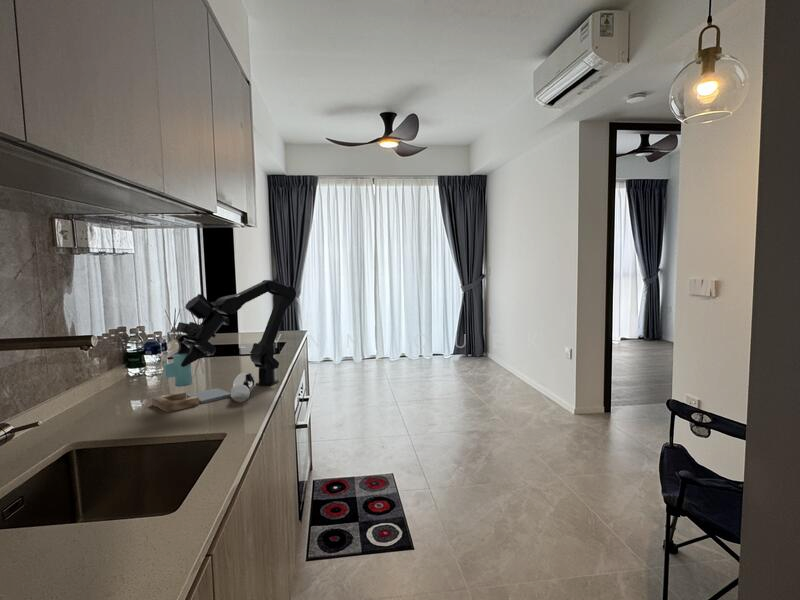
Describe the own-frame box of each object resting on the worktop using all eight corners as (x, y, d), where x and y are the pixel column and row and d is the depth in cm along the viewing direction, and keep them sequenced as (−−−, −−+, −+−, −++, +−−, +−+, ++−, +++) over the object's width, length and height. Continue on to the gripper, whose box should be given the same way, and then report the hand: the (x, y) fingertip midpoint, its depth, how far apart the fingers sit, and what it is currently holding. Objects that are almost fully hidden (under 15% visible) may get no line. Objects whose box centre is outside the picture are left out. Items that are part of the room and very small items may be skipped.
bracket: (182, 398, 160) (182, 391, 160) (198, 404, 152) (198, 397, 152) (152, 405, 153) (151, 397, 152) (167, 412, 145) (167, 404, 145)
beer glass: (247, 380, 155) (251, 368, 169) (226, 387, 153) (232, 375, 168) (253, 399, 156) (257, 386, 170) (233, 406, 155) (238, 392, 169)
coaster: (216, 390, 169) (216, 388, 169) (232, 396, 162) (232, 393, 162) (186, 397, 161) (186, 394, 161) (201, 403, 153) (201, 400, 153)
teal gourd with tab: (188, 381, 158) (186, 352, 157) (195, 383, 154) (193, 354, 153) (162, 386, 152) (160, 356, 151) (169, 389, 148) (167, 358, 147)
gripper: (178, 311, 161) (147, 347, 154) (204, 314, 149) (171, 354, 142) (202, 330, 168) (173, 366, 161) (228, 335, 155) (198, 374, 148)
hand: (178, 365), depth 153 cm, fingers closed on teal gourd with tab, 5 cm apart
